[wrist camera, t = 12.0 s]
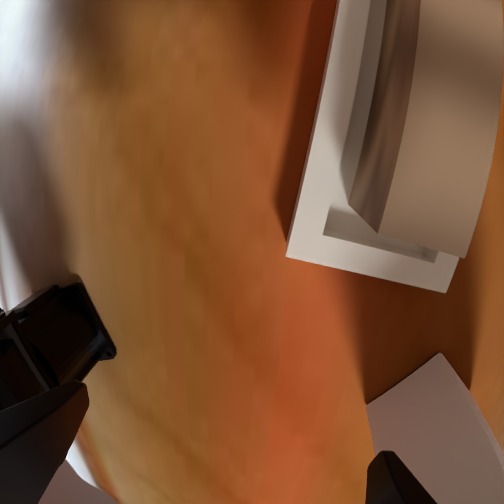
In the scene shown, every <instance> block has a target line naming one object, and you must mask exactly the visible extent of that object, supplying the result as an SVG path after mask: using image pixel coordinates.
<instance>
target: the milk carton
mask: <svg viewBox="0 0 504 504" xmlns="http://www.w3.org/2000/svg"><path fill="white" fill-rule="evenodd" d="M366 411H367V416H368V420H369V425H370V430H371V435H372V440H373V445H374V450H375V455H376V456H377V454H378V453H379V452H380V451H382V450H391V451H394V452H395V453H396V454H397V456H398V457H399V458H400V459H401V460H402V462H403V463H404V464H405V465H406V466H407V468H408V469H409V470H410V471H411V472H412V474H413V475H414V476H415V477H416V478H417V480H418V481H419V482H420V483H421V484H422V486H423V487H424V488H425V489H426V490H427V492H428V493H429V494H430V495H431V496H432V498H433V499H434V500H435V501H436V502H437V504H504V455H503V453H502V451H501V449H500V447H499V445H498V443H497V441H496V439H495V437H494V435H493V433H492V431H491V429H490V427H489V425H488V423H487V421H486V419H485V418H484V416H483V414H482V412H481V410H480V408H479V407H478V405H477V403H476V401H475V400H474V398H473V396H472V394H471V393H470V392H469V390H468V389H467V387H466V386H465V384H464V383H463V382H462V380H461V379H460V377H459V376H458V375H457V373H456V372H455V371H454V369H453V368H452V366H451V365H450V364H449V362H448V361H447V360H446V358H445V357H444V356H443V354H442V353H438V354H437V355H435V356H434V357H433V358H432V359H430V360H429V361H428V362H426V363H425V364H424V365H423V366H421V367H420V368H419V369H417V370H416V371H415V372H413V373H412V374H411V375H409V376H408V377H407V378H405V379H404V380H403V381H401V382H400V383H398V384H397V385H396V386H394V387H393V388H391V389H390V390H388V391H387V392H386V393H384V394H383V395H381V396H380V397H378V398H377V399H375V400H374V401H372V402H371V403H369V404H368V405H366Z"/></svg>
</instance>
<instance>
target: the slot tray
mask: <svg viewBox="0 0 504 504" xmlns="http://www.w3.org/2000/svg"><path fill="white" fill-rule="evenodd" d="M386 3H387V0H337V4H336V10H335V15H334V21H333V26H332V32H331V37H330V42H329V48H328V53H327V58H326V63H325V68H324V73H323V78H322V83H321V88H320V93H319V98H318V103H317V108H316V113H315V117H314V122H313V127H312V131H311V136H310V141H309V145H308V150H307V154H306V159H305V163H304V168H303V172H302V177H301V181H300V186H299V190H298V194H297V199H296V203H295V207H294V212H293V216H292V220H291V224H290V228H289V233H288V237H287V241H286V257H289V258H294V259H298V260H302V261H307V262H311V263H316V264H320V265H324V266H329V267H333V268H337V269H342V270H346V271H351V272H355V273H359V274H364V275H368V276H372V277H377V278H381V279H385V280H390V281H394V282H399V283H403V284H407V285H412V286H416V287H420V288H425V289H429V290H433V291H438V292H442V293H446V292H447V289H448V287H449V284H450V282H451V279H452V276H453V274H454V271H455V268H456V266H457V263H458V260H459V257H458V256H454V255H451V254H448V253H444V252H441V251H437V250H434V249H430V248H427V247H423V246H420V245H416V244H413V243H409V242H405V241H402V240H398V239H394V238H391V237H387V236H383V235H380V234H377V233H376V232H375V231H374V230H373V229H372V228H371V227H370V226H369V225H368V224H367V223H366V222H365V221H364V220H363V219H362V218H361V217H360V216H359V215H358V214H357V213H356V212H355V211H354V210H353V209H352V208H351V207H350V206H349V205H348V204H349V200H350V196H351V192H352V188H353V184H354V180H355V176H356V171H357V167H358V163H359V159H360V154H361V150H362V145H363V141H364V136H365V131H366V127H367V122H368V117H369V112H370V107H371V101H372V96H373V91H374V85H375V79H376V74H377V68H378V62H379V55H380V49H381V42H382V35H383V28H384V20H385V12H386Z"/></svg>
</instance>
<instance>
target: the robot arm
mask: <svg viewBox="0 0 504 504" xmlns="http://www.w3.org/2000/svg"><path fill="white" fill-rule="evenodd" d="M76 288H77V289H78V291H77V289H76ZM116 355H117V352H116V350H115V348H114V346H113V345H112V343H111V341H110V339H109V337H108V335H107V334H106V332H105V330H104V328H103V326H102V324H101V322H100V320H99V318H98V317H97V315H96V313H95V311H94V309H93V307H92V305H91V303H90V300H89V298H88V296H87V294H86V292H85V290H84V288H83V286H82V285H81V284H80V283H78V282H76V283H73V284H70V285H67V286H64V287H61V288H59V286H58V285H53V286H50V287H47V288H45V289H42V290H39V291H37V292H36V293H34V294H33V295H31V296H30V297H29V298H27V299H26V300H24V301H23V302H21V303H20V304H19V305H17V306H16V307H14V308H13V309H11V310H10V311H7V312H4V310H2V309H1V308H0V504H38V502H39V501H40V499H41V497H42V495H43V493H44V492H45V490H46V488H47V486H48V485H49V483H50V481H51V479H52V477H53V476H54V474H55V472H56V471H57V469H58V467H59V466H60V465H61V464H62V463H63V461H64V460H65V458H66V456H67V453H68V450H69V448H70V447H71V445H72V443H73V441H74V439H75V436H76V434H77V432H78V429H79V427H80V425H81V423H82V420H83V418H84V416H85V414H86V412H87V409H88V407H89V397H88V391H87V386H86V384H85V383H83V382H82V381H83V379H84V378H85V377H86V376H87V375H88V373H89V372H90V371H91V370H92V368H93V367H94V366H95V365H96V363H97V362H98V361H102V360H110V359H114V357H115V356H116ZM365 504H437V502H436V501H435V500H434V499H433V498H432V496H431V495H430V494H429V493H428V492H427V490H426V489H425V488H424V487H423V486H422V484H421V483H420V482H419V481H418V480H417V478H416V477H415V476H414V475H413V474H412V472H411V471H410V470H409V469H408V468H407V466H406V465H405V464H404V463H403V462H402V460H401V459H400V458H399V457H398V456H397V454H396V453H395V452H394V451H391V450H382V451H380V452H379V453H378V454H377V456H376V457H375V458H374V459H373V461H372V462H371V463H370V464H369V466H368V470H367V488H366V502H365Z"/></svg>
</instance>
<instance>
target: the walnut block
mask: <svg viewBox="0 0 504 504" xmlns="http://www.w3.org/2000/svg"><path fill="white" fill-rule="evenodd" d="M502 78H503V13H502V0H387V3H386V12H385V20H384V28H383V35H382V42H381V49H380V55H379V62H378V68H377V74H376V79H375V85H374V91H373V96H372V101H371V107H370V112H369V117H368V122H367V127H366V131H365V136H364V141H363V145H362V150H361V154H360V159H359V163H358V167H357V171H356V176H355V180H354V184H353V188H352V192H351V196H350V200H349V204H348V205H349V206H350V207H351V208H352V209H353V210H354V211H355V212H356V213H357V214H358V215H359V216H360V217H361V218H362V219H363V220H364V221H365V222H366V223H367V224H368V225H369V226H370V227H371V228H372V229H373V230H374V231H375V232H376V233H377V234H380V235H383V236H387V237H391V238H394V239H398V240H402V241H405V242H409V243H413V244H416V245H420V246H423V247H427V248H430V249H434V250H437V251H441V252H444V253H448V254H451V255H454V256H458V257H461V258H464V259H465V257H466V254H467V251H468V248H469V245H470V242H471V239H472V236H473V233H474V230H475V226H476V223H477V220H478V216H479V213H480V209H481V205H482V201H483V198H484V194H485V190H486V185H487V181H488V177H489V172H490V167H491V162H492V157H493V152H494V146H495V140H496V134H497V127H498V120H499V112H500V103H501V92H502Z"/></svg>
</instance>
